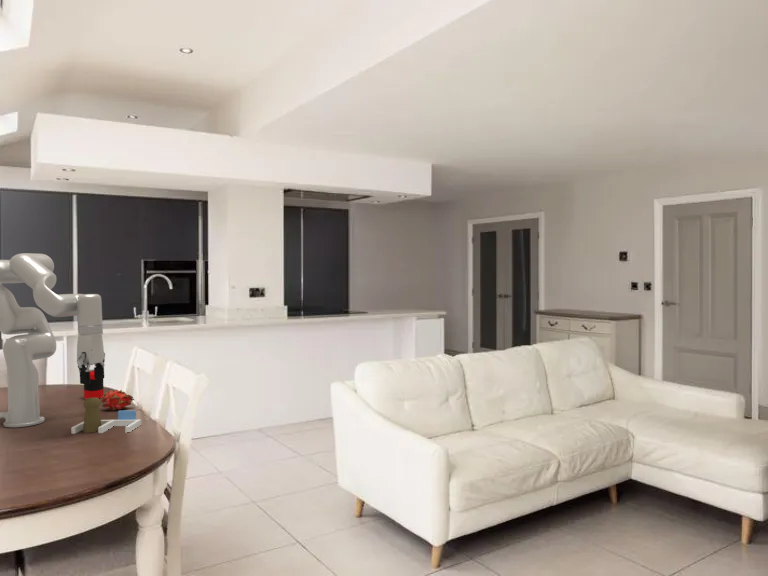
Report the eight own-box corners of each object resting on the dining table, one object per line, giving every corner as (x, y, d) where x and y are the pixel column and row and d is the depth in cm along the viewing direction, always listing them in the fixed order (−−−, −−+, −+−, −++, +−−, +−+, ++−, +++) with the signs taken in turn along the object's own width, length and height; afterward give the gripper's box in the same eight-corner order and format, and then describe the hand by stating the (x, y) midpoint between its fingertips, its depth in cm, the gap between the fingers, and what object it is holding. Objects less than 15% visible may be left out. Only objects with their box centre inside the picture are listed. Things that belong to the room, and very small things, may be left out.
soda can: (85, 400, 253) (84, 372, 253) (83, 397, 259) (82, 370, 259) (105, 398, 257) (104, 370, 257) (102, 395, 264) (101, 368, 263)
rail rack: (71, 433, 201) (71, 418, 201) (87, 425, 212) (87, 411, 212) (129, 432, 201) (128, 417, 200) (142, 424, 212) (142, 410, 211)
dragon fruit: (98, 414, 235) (131, 416, 239) (98, 405, 228) (132, 407, 232) (102, 394, 239) (134, 396, 244) (102, 384, 233) (135, 387, 237)
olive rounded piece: (94, 432, 201) (93, 400, 201) (78, 432, 202) (77, 399, 202) (106, 428, 207) (105, 396, 207) (90, 427, 208) (90, 395, 208)
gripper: (91, 328, 213) (93, 377, 213) (65, 333, 195) (68, 386, 196) (113, 328, 212) (115, 376, 213) (88, 332, 195) (91, 385, 196)
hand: (92, 381), depth 204 cm, fingers open, 9 cm apart
